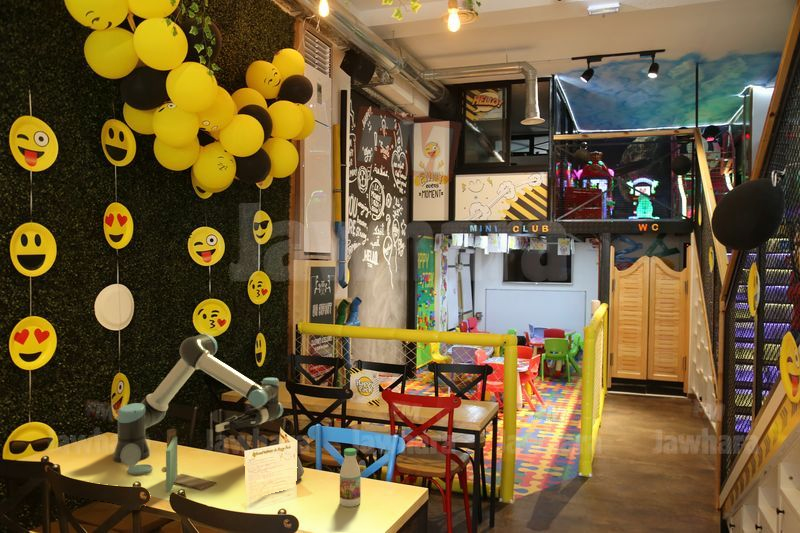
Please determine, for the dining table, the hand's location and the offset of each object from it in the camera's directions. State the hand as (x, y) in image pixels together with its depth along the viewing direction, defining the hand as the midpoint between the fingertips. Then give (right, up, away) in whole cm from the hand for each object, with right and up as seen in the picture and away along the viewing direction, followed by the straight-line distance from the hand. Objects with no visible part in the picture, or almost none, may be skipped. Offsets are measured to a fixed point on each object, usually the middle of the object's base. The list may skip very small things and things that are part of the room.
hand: (216, 428), depth 252 cm
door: (-15, -19, -12) cm, 27 cm away
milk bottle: (+58, -20, -28) cm, 68 cm away
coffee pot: (+29, -20, -7) cm, 36 cm away
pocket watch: (-35, -20, +6) cm, 41 cm away
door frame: (-9, -20, -7) cm, 23 cm away
